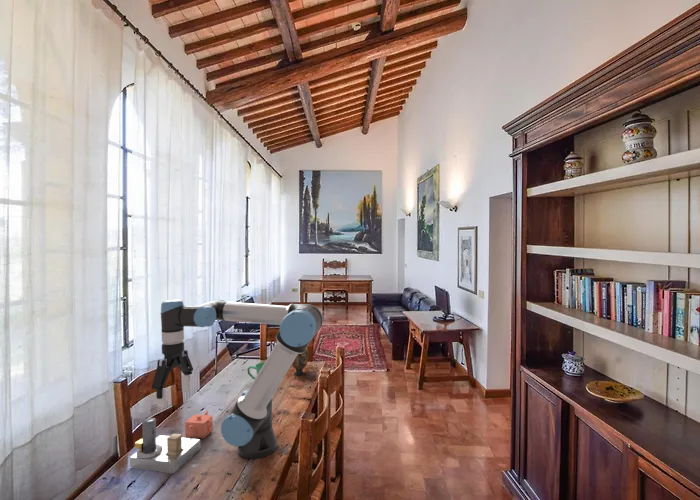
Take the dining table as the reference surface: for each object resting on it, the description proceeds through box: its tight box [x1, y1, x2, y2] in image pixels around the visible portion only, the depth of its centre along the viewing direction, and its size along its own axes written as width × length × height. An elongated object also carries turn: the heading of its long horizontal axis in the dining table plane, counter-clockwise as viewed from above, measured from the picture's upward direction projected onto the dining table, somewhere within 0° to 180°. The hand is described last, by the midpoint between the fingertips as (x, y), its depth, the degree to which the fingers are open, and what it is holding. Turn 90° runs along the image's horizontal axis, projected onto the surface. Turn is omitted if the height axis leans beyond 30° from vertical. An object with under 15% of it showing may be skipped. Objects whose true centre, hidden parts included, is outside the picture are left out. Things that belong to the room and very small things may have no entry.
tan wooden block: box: [167, 433, 182, 457], centre depth 139 cm, size 4×4×10 cm
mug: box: [246, 361, 265, 380], centre depth 220 cm, size 15×10×10 cm
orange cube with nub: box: [184, 410, 214, 440], centre depth 159 cm, size 12×15×8 cm
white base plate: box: [129, 434, 201, 474], centre depth 142 cm, size 18×16×4 cm
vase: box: [291, 348, 310, 377], centre depth 233 cm, size 12×12×30 cm
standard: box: [134, 417, 162, 459], centre depth 139 cm, size 9×8×12 cm
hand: (174, 398), depth 139 cm, fingers open, 13 cm apart
